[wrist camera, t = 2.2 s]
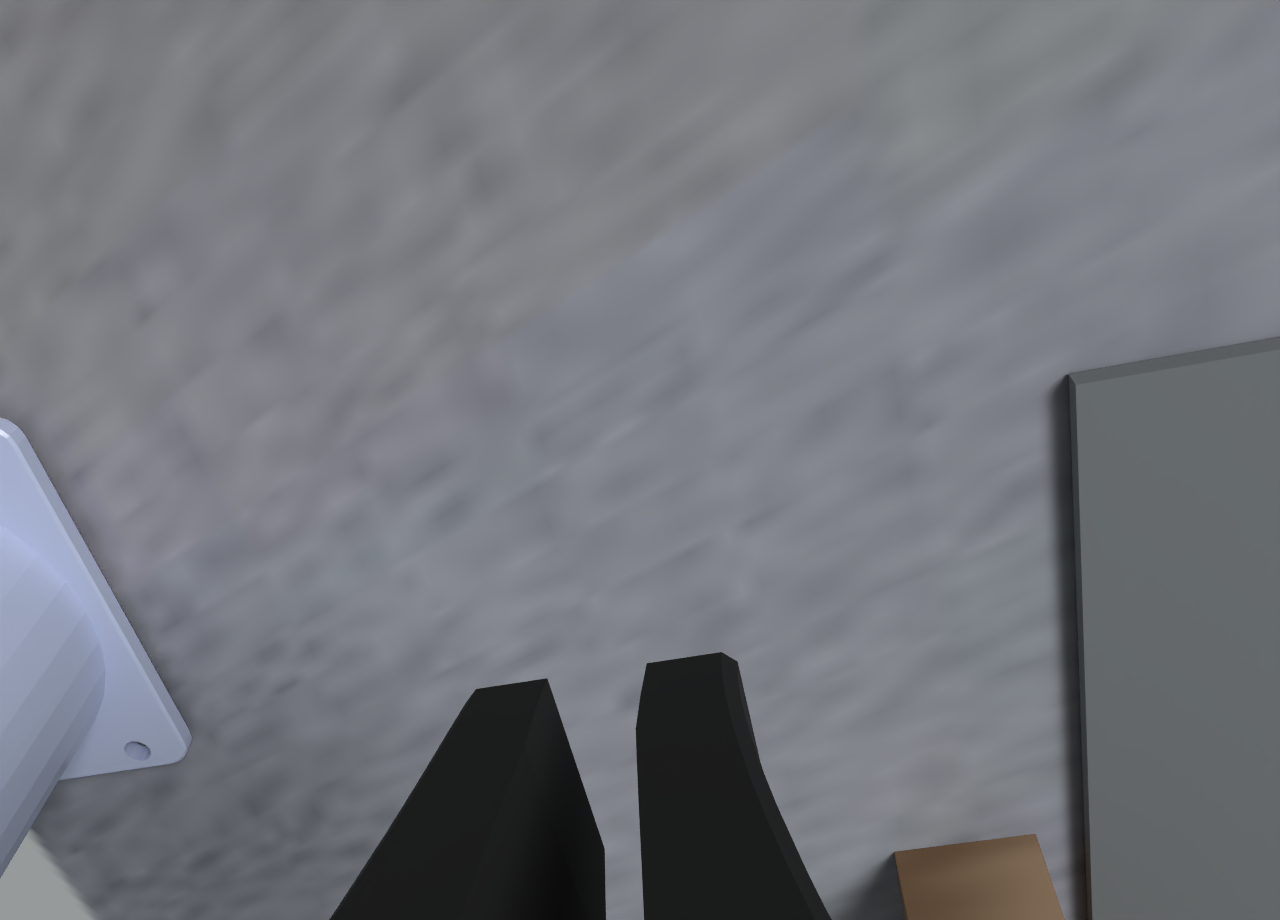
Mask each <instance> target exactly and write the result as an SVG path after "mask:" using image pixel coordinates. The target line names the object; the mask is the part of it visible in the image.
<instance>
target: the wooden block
mask: <svg viewBox="0 0 1280 920" xmlns="http://www.w3.org/2000/svg"><path fill="white" fill-rule="evenodd" d="M894 854H895V860H896V867H897V873H898V880H899V886H900V892H901V899H902V905H903V912H904V918H905V920H1065V919H1064V916H1063V913H1062V910H1061V907H1060V905H1059V902H1058V899H1057V896H1056V893H1055V890H1054V887H1053V884H1052V881H1051V878H1050V875H1049V872H1048V869H1047V866H1046V863H1045V860H1044V857H1043V854H1042V851H1041V848H1040V845H1039V843H1038V840H1037V837H1036V834H1031V835H1023V836H1016V837H1008V838H1000V839H992V840H984V841H976V842H968V843H960V844H952V845H945V846H937V847H929V848H921V849H913V850H905V851H897V852H894Z"/></svg>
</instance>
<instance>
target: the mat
mask: <svg viewBox="0 0 1280 920" xmlns="http://www.w3.org/2000/svg"><path fill="white" fill-rule="evenodd" d="M1069 399H1070V428H1071V457H1072V485H1073V514H1074V543H1075V572H1076V601H1077V630H1078V659H1079V688H1080V717H1081V746H1082V774H1083V803H1084V832H1085V861H1086V890H1087V919H1088V920H1280V337H1276V338H1270V339H1265V340H1259V341H1253V342H1248V343H1242V344H1236V345H1231V346H1225V347H1219V348H1213V349H1208V350H1202V351H1196V352H1191V353H1185V354H1179V355H1174V356H1168V357H1162V358H1157V359H1151V360H1145V361H1139V362H1134V363H1128V364H1122V365H1117V366H1111V367H1105V368H1100V369H1094V370H1088V371H1083V372H1077V373H1071V374H1069Z"/></svg>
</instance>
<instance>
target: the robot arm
mask: <svg viewBox="0 0 1280 920" xmlns="http://www.w3.org/2000/svg"><path fill="white" fill-rule="evenodd" d="M191 741H192V737H191V734H190V731H189V729H188V727H187V726H186V724H185V722H184V720H183V718H182V717H181V715H180V713H179V711H178V709H177V708H176V706H175V704H174V702H173V700H172V699H171V697H170V695H169V693H168V691H167V690H166V688H165V686H164V684H163V682H162V681H161V679H160V677H159V675H158V673H157V672H156V670H155V668H154V666H153V664H152V663H151V661H150V659H149V657H148V655H147V654H146V652H145V650H144V648H143V646H142V645H141V643H140V641H139V639H138V637H137V636H136V634H135V632H134V630H133V628H132V627H131V625H130V623H129V621H128V619H127V618H126V616H125V614H124V612H123V610H122V609H121V607H120V605H119V603H118V601H117V600H116V598H115V596H114V594H113V592H112V591H111V589H110V587H109V585H108V583H107V582H106V580H105V578H104V576H103V575H102V573H101V571H100V569H99V567H98V566H97V564H96V562H95V560H94V558H93V557H92V555H91V553H90V551H89V549H88V548H87V546H86V544H85V542H84V540H83V539H82V537H81V535H80V533H79V531H78V530H77V528H76V526H75V524H74V522H73V521H72V519H71V517H70V515H69V513H68V512H67V510H66V508H65V506H64V504H63V503H62V501H61V499H60V497H59V495H58V494H57V492H56V490H55V488H54V486H53V485H52V483H51V481H50V479H49V477H48V476H47V474H46V472H45V470H44V468H43V467H42V465H41V463H40V461H39V459H38V458H37V456H36V454H35V452H34V450H33V449H32V447H31V445H30V443H29V441H28V440H27V438H26V436H25V435H24V434H23V432H22V431H21V430H20V429H19V427H18V426H16V425H15V424H13V423H12V422H10V421H9V420H7V419H3V418H0V878H1V876H2V874H3V872H4V871H5V869H6V868H7V866H8V864H9V863H10V861H11V859H12V857H13V856H14V854H15V853H16V851H17V849H18V848H19V846H20V844H21V843H22V841H23V839H24V837H25V836H26V834H27V833H28V831H29V829H30V828H31V826H32V824H33V823H34V821H35V819H36V818H37V816H38V814H39V813H40V811H41V809H42V808H43V806H44V804H45V803H46V801H47V799H48V798H49V796H50V794H51V793H52V791H53V789H54V788H55V786H56V784H57V783H58V781H59V780H65V779H71V778H78V777H85V776H92V775H98V774H105V773H112V772H119V771H125V770H132V769H139V768H146V767H152V766H159V765H166V764H172V763H175V762H178V761H180V760H181V759H182V758H183V757H185V755H186V753H187V751H188V749H189V747H190V744H191ZM137 742H140V743H143V744H145V745H146V746H143V745H140V744H138V743H137ZM636 747H637V772H638V796H639V817H640V838H641V859H642V880H643V901H644V920H831V918H830V916H829V914H828V912H827V910H826V909H825V907H824V905H823V903H822V901H821V899H820V897H819V895H818V893H817V891H816V889H815V887H814V885H813V883H812V881H811V879H810V877H809V875H808V873H807V871H806V868H805V866H804V864H803V862H802V860H801V857H800V855H799V853H798V851H797V849H796V846H795V844H794V842H793V840H792V838H791V835H790V833H789V831H788V829H787V827H786V824H785V822H784V820H783V818H782V816H781V814H780V811H779V809H778V807H777V805H776V802H775V800H774V797H773V795H772V792H771V790H770V787H769V785H768V782H767V780H766V777H765V775H764V772H763V769H762V766H761V763H760V759H759V754H758V750H757V746H756V741H755V737H754V732H753V728H752V724H751V719H750V715H749V710H748V706H747V701H746V697H745V693H744V688H743V684H742V679H741V675H740V671H739V666H738V662H737V661H735V660H734V659H732V658H730V657H729V656H727V655H725V654H724V653H722V652H720V653H713V654H706V655H700V656H693V657H687V658H680V659H673V660H667V661H660V662H653V663H647V665H646V670H645V675H644V681H643V686H642V691H641V696H640V703H639V711H638V718H637V725H636ZM330 920H606V901H605V849H604V846H603V843H602V840H601V837H600V834H599V831H598V828H597V825H596V822H595V819H594V816H593V813H592V810H591V807H590V804H589V801H588V798H587V795H586V792H585V789H584V786H583V783H582V780H581V777H580V774H579V771H578V768H577V766H576V763H575V760H574V757H573V754H572V751H571V748H570V745H569V742H568V739H567V736H566V733H565V730H564V727H563V724H562V721H561V718H560V715H559V712H558V709H557V706H556V703H555V700H554V697H553V694H552V691H551V688H550V685H549V682H548V679H540V680H534V681H527V682H521V683H514V684H507V685H501V686H494V687H487V688H481V689H476V690H475V691H474V693H473V694H472V695H471V697H470V698H469V699H468V701H467V702H466V704H465V705H464V707H463V709H462V710H461V712H460V713H459V715H458V717H457V718H456V720H455V722H454V723H453V725H452V726H451V728H450V730H449V731H448V733H447V735H446V736H445V738H444V740H443V741H442V743H441V745H440V746H439V748H438V750H437V751H436V753H435V755H434V756H433V758H432V760H431V761H430V763H429V765H428V766H427V768H426V770H425V771H424V773H423V774H422V776H421V778H420V779H419V781H418V783H417V784H416V786H415V788H414V789H413V791H412V792H411V794H410V796H409V797H408V799H407V800H406V802H405V804H404V805H403V807H402V809H401V810H400V812H399V813H398V815H397V817H396V818H395V820H394V821H393V823H392V825H391V826H390V828H389V829H388V831H387V833H386V834H385V836H384V837H383V839H382V840H381V842H380V843H379V845H378V846H377V848H376V849H375V851H374V853H373V854H372V856H371V857H370V859H369V860H368V862H367V863H366V865H365V866H364V868H363V869H362V871H361V872H360V874H359V876H358V877H357V879H356V880H355V882H354V883H353V885H352V886H351V888H350V889H349V891H348V892H347V894H346V895H345V897H344V899H343V900H342V902H341V903H340V905H339V906H338V908H337V909H336V911H335V912H334V914H333V915H332V917H331V918H330Z"/></svg>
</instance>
